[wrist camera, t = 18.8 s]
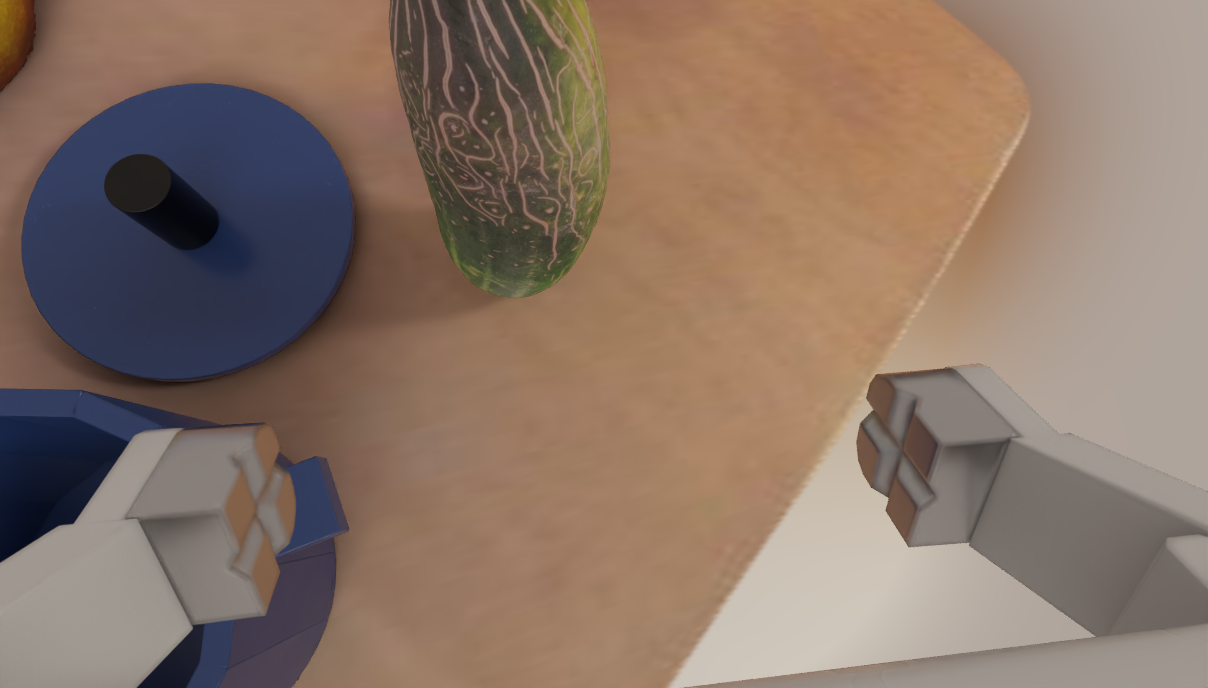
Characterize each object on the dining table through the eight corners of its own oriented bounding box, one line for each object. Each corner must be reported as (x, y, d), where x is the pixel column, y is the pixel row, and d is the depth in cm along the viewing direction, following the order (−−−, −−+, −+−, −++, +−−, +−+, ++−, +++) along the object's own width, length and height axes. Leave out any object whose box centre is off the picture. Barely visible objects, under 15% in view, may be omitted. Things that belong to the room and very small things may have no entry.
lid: (399, 319, 31) (370, 283, 26) (82, 432, 29) (-16, 417, 24) (308, 62, 34) (265, -16, 29) (9, 150, 32) (-93, 83, 27)
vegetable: (504, 171, 33) (441, -300, 14) (618, 238, 33) (719, -149, 13) (432, 275, 32) (248, -87, 12) (551, 346, 31) (553, 88, 12)
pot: (442, 645, 28) (390, 712, 19) (-31, 848, 26) (-357, 1041, 16) (346, 359, 31) (259, 296, 21) (-98, 519, 28) (-417, 525, 19)
